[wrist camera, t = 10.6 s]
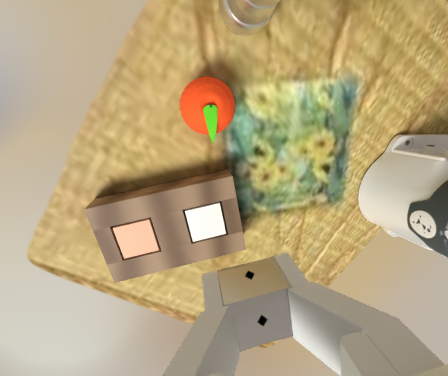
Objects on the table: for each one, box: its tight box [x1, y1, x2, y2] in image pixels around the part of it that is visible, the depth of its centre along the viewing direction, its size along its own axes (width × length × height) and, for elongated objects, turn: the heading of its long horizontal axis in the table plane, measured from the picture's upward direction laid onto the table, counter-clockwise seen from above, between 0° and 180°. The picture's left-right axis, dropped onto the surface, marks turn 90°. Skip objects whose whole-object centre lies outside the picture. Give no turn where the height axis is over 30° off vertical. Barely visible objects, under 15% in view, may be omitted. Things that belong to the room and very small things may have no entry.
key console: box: [84, 169, 246, 283], centre depth 37 cm, size 20×12×4 cm, turn 101°
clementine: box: [180, 77, 235, 143], centre depth 31 cm, size 8×7×7 cm
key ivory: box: [185, 201, 226, 242], centre depth 36 cm, size 5×5×3 cm
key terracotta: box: [113, 217, 160, 259], centre depth 36 cm, size 5×5×3 cm
